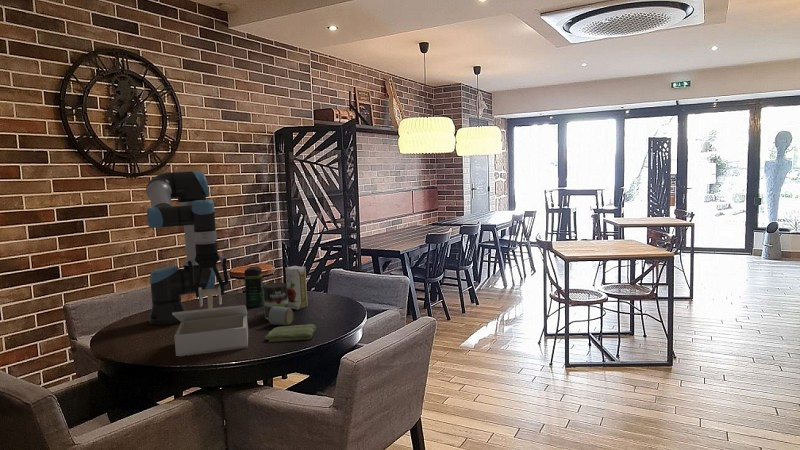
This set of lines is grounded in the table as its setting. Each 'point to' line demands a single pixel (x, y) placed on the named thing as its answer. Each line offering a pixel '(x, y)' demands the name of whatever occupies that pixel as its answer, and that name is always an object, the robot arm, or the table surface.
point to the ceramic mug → (280, 315)
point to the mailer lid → (210, 309)
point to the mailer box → (211, 335)
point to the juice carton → (296, 287)
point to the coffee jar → (254, 286)
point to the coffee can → (274, 296)
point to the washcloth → (291, 333)
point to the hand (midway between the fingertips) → (211, 304)
